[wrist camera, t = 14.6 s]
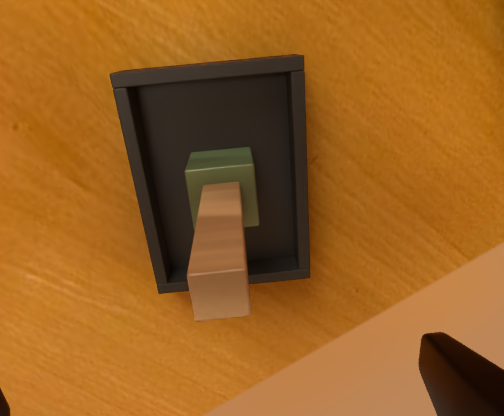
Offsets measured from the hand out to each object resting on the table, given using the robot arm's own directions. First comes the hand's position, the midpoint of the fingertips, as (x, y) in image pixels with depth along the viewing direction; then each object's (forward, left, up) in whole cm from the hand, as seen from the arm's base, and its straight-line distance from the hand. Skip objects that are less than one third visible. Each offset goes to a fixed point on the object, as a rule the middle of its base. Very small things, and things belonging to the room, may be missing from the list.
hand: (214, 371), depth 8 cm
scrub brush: (0, 0, -12) cm, 13 cm away
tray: (0, 0, -13) cm, 13 cm away
